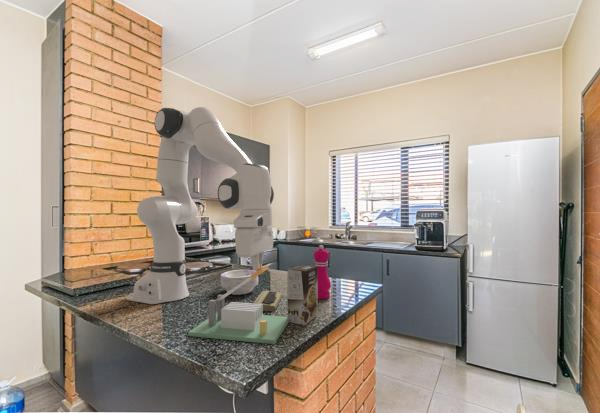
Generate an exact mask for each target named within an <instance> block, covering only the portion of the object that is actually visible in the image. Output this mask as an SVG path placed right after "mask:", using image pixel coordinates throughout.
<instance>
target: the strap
mask: <svg viewBox="0 0 600 413" xmlns="http://www.w3.org/2000/svg"><path fill="white" fill-rule="evenodd" d="M269 268H270V267H269V266H268V265H267V264H266V265H265V266H262V268H260V269H259V270H256V271H257V272H255V273H254V274H252V275H251V276H250V277H249V278H247V279H246V280H245V281H243V282H242V283H240V284H239V285H237V286H236V287H234V288H233V289H231V290H230V291H228V292H227V291H226V293H224V294H222V295H223V296H221V297H220V298H216V299H215V300H216V305H217V303H219V302H220V301H221V300H222V299H224V298H227V297H228V296H229V295H232V294H231V293H232V292H234V291H235V290H237V289H238V288H240V287H241V286H243V285H244V284H245V283H247V282H248V281H250V280H251V279H253V278H255V277H256V276H258V277H259V275H261V274H263V273H264V272H265V271H267V270H268V269H269Z"/></svg>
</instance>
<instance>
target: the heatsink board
mask: <svg viewBox="0 0 600 413" xmlns="http://www.w3.org/2000/svg"><path fill="white" fill-rule="evenodd" d="M223 295H224V294H218V295H216V296H217V298H220V297H221V296H223ZM217 298H216V299H217ZM225 298H226V297H225ZM225 298H224V299H222V300H221V301H220V302H219V303H217V304H216V299H209V300H208V317H207V318H206V319H205V320H204V321H202V322H201V323H199V324H198V325H197V326H195V327H194V328H192V329H190V330H189V331H188V334H187V335H188V336H189V337H197V338H208V339H215V340H217V339H218V340H226V341H227V340H229V341H238V342H247V343H249V342H250V343H259V344H268V345H275V344H276V343H277V341H278V340H279V338H280V336H281V335H282V334H283V332H284V330H285V329H286V327H288V326H287V325H288V324H289V323H290V322H289V318H287V316H279V315H269V314H268V315H267V314H264V313H263V312H264V311H263V304H253V303H254V302H253V303H250V302H238V301H237V302H236V301H235V302H234V301H230V302H229V303H227V304H226V305H225V303H226V302H225Z"/></svg>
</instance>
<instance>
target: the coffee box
mask: <svg viewBox="0 0 600 413" xmlns="http://www.w3.org/2000/svg"><path fill="white" fill-rule="evenodd" d="M286 294H287V308H286V310H287V316H286V317H287V318H289V323H292V324H298V325H301V324H302V326H306V325H308V324H309V323H310V322H312V321H313V320H314V319H315V318H317V317H318V316H319V315H318V314H319V310H318V308H319V307H318V303H319V302H318V301H319V300H318V278H317V266H316V265H307V264H306V265H304V264H303V265H302V264H300V265H297V266H294V267H291V268H288V269H287V293H286ZM307 323H308V324H307Z"/></svg>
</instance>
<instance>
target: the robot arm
mask: <svg viewBox="0 0 600 413" xmlns="http://www.w3.org/2000/svg"><path fill="white" fill-rule="evenodd" d="M154 128H155V131H156V133H157V134H158V135H160V136H161V140H160V142H159V147H158V153H157V165H156V173H155V174H156V175H155V176H156V178H155V179H156V181H157V183H158V184H159V185H160V186H161V187H162V190H163V193H164V196H161V195H156V196H149V197H146V198H143V199H142V200H140V202H139V203H138V205H137V208H136V215H137V217H138V220H139V221H140V222H141V223H142V224H143V225H145V226H146V228H147V229H148V231H149V233H150V236H151V238H152V244H153V245H152V246H153V261H152V262H150V263H147V264H146V265H147V266H146V267H148V268H149V271H148V272H146V273H145V274H144V275H143V276H141V277H140V278H139V279H138V280H136V282H135V283H134V287H133V292H132V293H130V294H128V295H127V296H126V301H129V302H130V301H131V302H137V303H138V302H139V303H144V304H149V305H157V304H161V303H169V302H176V301H180V300H182V299H184V298H188V297H189V296H190V293H189V292H190V291H189V289H188V285H187V284H188V283H187V280H186V279H187V278H186V273H187V260H186V259H185V258H186V256H185V255H186V254H185V253H186V250H185V247H186V246H185V245H186V244H185V243H186V242H185V239H184V237H183V236H181V235H180V234H179V232H178V230H177V226H176V225H184V224H187V223H190V222H192V221H194V220H195V218H196V217H197V215H198V206H197V204H196V203H195V201H194V200H193V198H192V197H191V193H190V190H189V184H188V174H189V152H190V149H191V148H192V147H194V149H196V150H197V151H198V152H199V154H200V155H202V156H203V157H204V158H206V159H208V160H210V161H214V162H218V163H220V164H223V165H225V166H228V167H230V168H231V169H233V170H234V171H235V172H236V173H235V174H233V175H231V176H229V177H228V178H225V179H223V180H222V181H221V182H220V184H219V185H218V188H217V199H218V201H219V203H220V205H221V206H222V207H223V208H224V209H228V210H240V214H239V215H238V216H237V217H235V219H234V220H233V227H234V229H235V232H234V241H235V242H234V243H235V244H234V245H235V252H236V255H237V257H238V258H250V261H251V263H252V270H255V271H258V270H260V269H261V268H263V260H264V256H265V253H264V252H267V251H270V250H272V249H273V247H274V235H273V234H274V232H273V208H272V203H273V201H274V198H275V197H274V196H275V195H274V194H275V192H274V188H273V186H272V181H271V180H272V179H271V174H270V173H271V172H270V171H269V168H268V167H267V166H265V165H263V164H255V163H252V161H251V159H250V158H249V157H248V156H247V154H246V153H245V152H244V151H243V149H241V147H239V146H238V144H236V142H234V141H233V139H232V138H231V137H230V135H229V134H228V133H227V132H226V130H225V129H224V127H223V125H222V123H221V121H220V120H219V119H218V117H217V116H216V115H215V114H214V112H213V111H212V110H210V109H209V108H207V107H204V106H199V107H194V108H193V109H192V110H190V112H187V111H182V110H178V109H175V108H172V107H162V108H161V109H159V110H158V111H157V112H156V115H155V117H154Z"/></svg>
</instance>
